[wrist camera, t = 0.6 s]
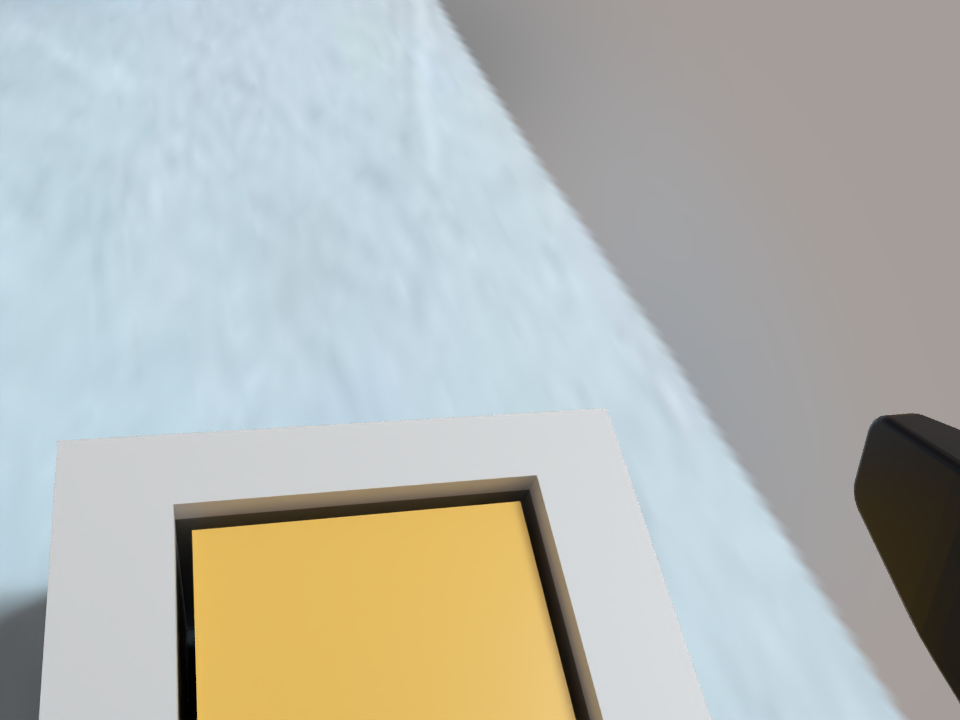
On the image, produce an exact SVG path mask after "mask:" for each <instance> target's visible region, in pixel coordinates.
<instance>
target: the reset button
mask: <svg viewBox="0 0 960 720" xmlns="http://www.w3.org/2000/svg"><path fill="white" fill-rule="evenodd" d="M192 545H193V581H194V618H195V654H196V690H197V720H576V718H575V714H574V710H573V706H572V702H571V698H570V694H569V690H568V686H567V683H566V679H565V675H564V671H563V667H562V663H561V659H560V655H559V651H558V647H557V643H556V639H555V635H554V632H553V628H552V624H551V620H550V616H549V612H548V608H547V604H546V600H545V596H544V592H543V588H542V585H541V581H540V577H539V573H538V569H537V565H536V561H535V557H534V553H533V549H532V545H531V541H530V537H529V534H528V530H527V526H526V522H525V518H524V514H523V510H522V506H521V502H520V501H517V502H506V503H495V504H483V505H472V506H461V507H450V508H438V509H427V510H416V511H405V512H393V513H382V514H371V515H360V516H348V517H337V518H326V519H315V520H303V521H292V522H281V523H269V524H258V525H247V526H236V527H224V528H213V529H202V530H192Z"/></svg>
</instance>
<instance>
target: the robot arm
mask: <svg viewBox="0 0 960 720" xmlns="http://www.w3.org/2000/svg"><path fill="white" fill-rule="evenodd" d="M854 496H855V501H856V505H857V508H858V511H859V513H860V515H861V517H862V519H863V521H864V523H865V525H866V527H867V529H868V531H869V533H870V536H871V537H872V539H873V542H874V543H875V546H876V548H877V550H878V552H879V554H880V556H881V559H882V561H883V563H884V565H885V567H886V569H887V571H888V573H889V575H890V577H891V579H892V582H893V584H894V586H895V588H896V590H897V592H898V594H899V596H900V598H901V600H902V602H903V605H904V607H905V608H906V611H907V613H908V615H909V617H910V619H911V621H912V623H913V625H914V627H915V628H916V630H917V632H918V634H919V636H920V638H921V640H922V641H923V643H924V645H925V647H926V648H927V650H928V652H929V653H930V655H931V657H932V659H933V660H934V662H935V664H936V665H937V667H938V669H939V670H940V672H941V673H942V675H943V677H944V678H945V680H946V682H947V683H948V685H949V686H950V688H951V690H952V691H953V693H954V694H955V696H956V698H957V700H958V701H959V703H960V430H959V429H956V428H954V427H951V426H949V425H946V424H944V423H941V422H939V421H936V420H934V419H931V418H928V417H926V416H923V415H920V414H914V413H910V414H897V415H885V416H880V417H879V418H877V419H875V420H874V421H873V423H872V424H871V425H870V428H869V430H868V434H867V437H866V441H865V445H864V449H863V453H862V456H861V460H860V464H859V467H858V471H857V475H856V479H855V483H854Z"/></svg>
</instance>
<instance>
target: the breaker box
mask: <svg viewBox="0 0 960 720" xmlns="http://www.w3.org/2000/svg"><path fill="white" fill-rule="evenodd" d="M517 501H520V502H521V506H522V510H523V514H524V518H525V522H526V526H527V530H528V534H529V537H530V541H531V545H532V549H533V553H534V557H535V561H536V565H537V569H538V573H539V577H540V581H541V585H542V588H543V592H544V596H545V600H546V604H547V608H548V612H549V616H550V620H551V624H552V628H553V632H554V635H555V639H556V643H557V647H558V651H559V655H560V659H561V663H562V667H563V671H564V675H565V679H566V683H567V686H568V690H569V694H570V698H571V702H572V706H573V710H574V714H575V718H576V720H711V717H710V714H709V711H708V708H707V705H706V702H705V699H704V696H703V693H702V690H701V687H700V684H699V681H698V678H697V675H696V672H695V669H694V666H693V663H692V660H691V658H690V655H689V652H688V649H687V646H686V643H685V640H684V637H683V634H682V631H681V628H680V625H679V622H678V619H677V616H676V613H675V610H674V607H673V604H672V601H671V598H670V595H669V592H668V589H667V586H666V583H665V580H664V577H663V574H662V571H661V568H660V565H659V562H658V559H657V556H656V553H655V550H654V547H653V545H652V542H651V539H650V536H649V533H648V530H647V527H646V524H645V521H644V518H643V515H642V512H641V509H640V506H639V503H638V500H637V497H636V494H635V491H634V488H633V485H632V482H631V479H630V476H629V473H628V470H627V467H626V464H625V461H624V458H623V455H622V452H621V449H620V446H619V443H618V440H617V437H616V435H615V432H614V429H613V426H612V423H611V420H610V417H609V414H608V411H607V408H601V409H585V410H568V411H551V412H534V413H518V414H501V415H484V416H467V417H451V418H434V419H417V420H400V421H384V422H367V423H350V424H333V425H317V426H300V427H283V428H266V429H250V430H233V431H216V432H199V433H183V434H166V435H149V436H132V437H116V438H99V439H82V440H65V441H58V443H57V457H56V472H55V487H54V502H53V517H52V531H51V546H50V561H49V576H48V591H47V606H46V620H45V635H44V650H43V665H42V680H41V695H40V709H39V720H189V700H188V656H187V629H189V628H195V618H194V581H193V545H192V530H202V529H213V528H224V527H236V526H247V525H258V524H269V523H281V522H292V521H303V520H315V519H326V518H337V517H348V516H360V515H371V514H382V513H393V512H405V511H416V510H427V509H438V508H450V507H461V506H472V505H483V504H495V503H506V502H517Z"/></svg>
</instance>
